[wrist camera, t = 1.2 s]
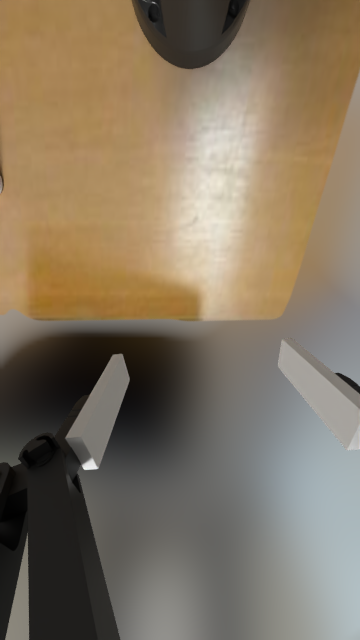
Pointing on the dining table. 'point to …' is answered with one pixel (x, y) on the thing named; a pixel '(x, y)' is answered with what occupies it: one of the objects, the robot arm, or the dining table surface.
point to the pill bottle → (1, 184)
